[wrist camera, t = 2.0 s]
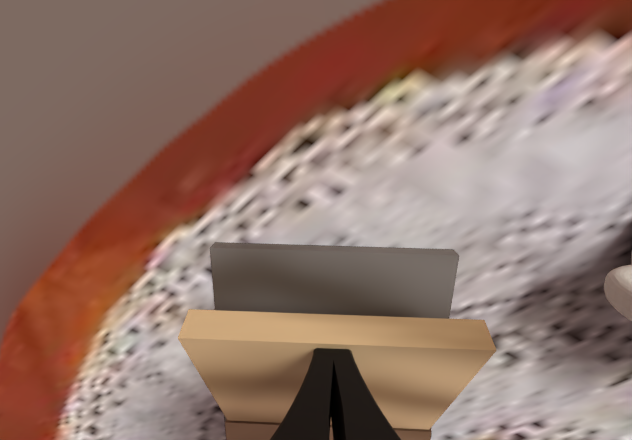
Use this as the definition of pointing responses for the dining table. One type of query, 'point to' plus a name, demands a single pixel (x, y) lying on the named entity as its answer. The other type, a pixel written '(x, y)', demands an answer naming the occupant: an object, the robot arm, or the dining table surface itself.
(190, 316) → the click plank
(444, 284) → the floor board
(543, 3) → the dining table surface
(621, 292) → the cup
